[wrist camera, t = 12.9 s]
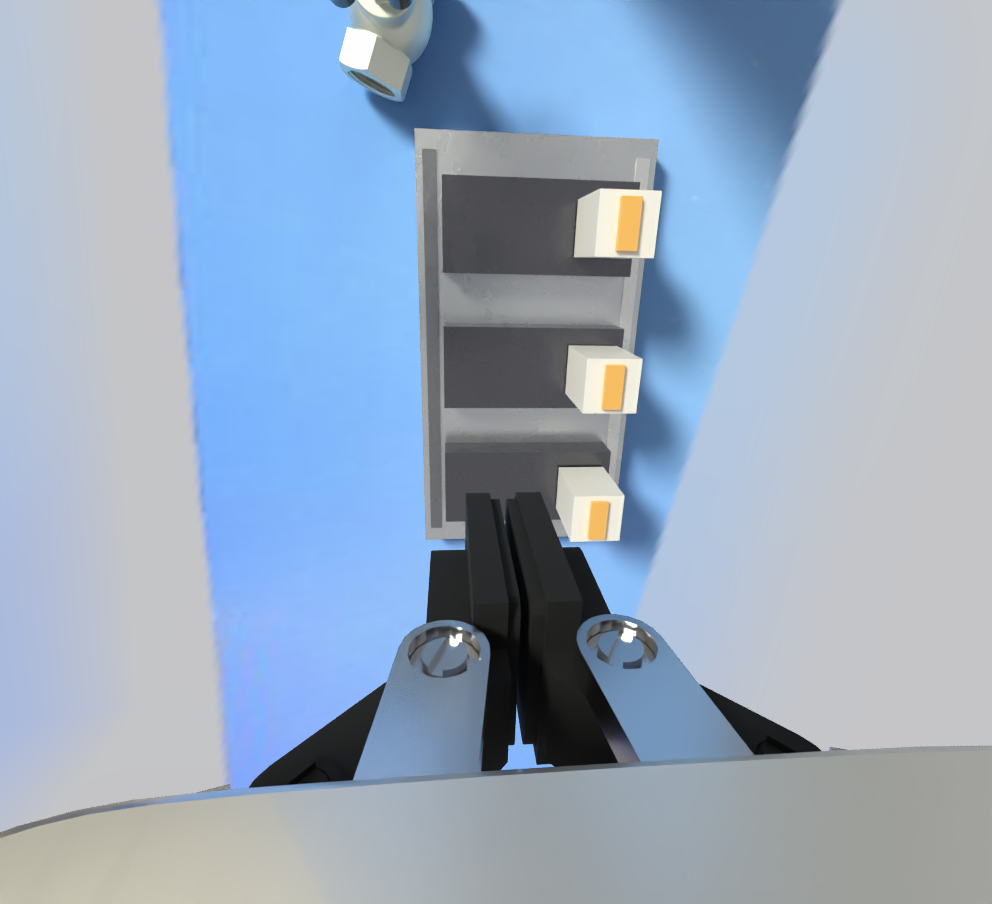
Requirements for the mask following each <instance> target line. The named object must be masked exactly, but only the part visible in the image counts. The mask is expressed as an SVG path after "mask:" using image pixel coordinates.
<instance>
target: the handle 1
mask: <svg viewBox="0 0 992 904" xmlns="http://www.w3.org/2000/svg"><path fill="white" fill-rule="evenodd" d="M661 195H662V191H654V190H628V189H602V188H600V189H598V190H596V191H594V192H592V193H590V194H588V195H586V196H584V197H582V198H580V199H578V207H577V221H576V235H575V249H574V257H578V258H616V259H638V258H654V253H655V244H656V236H657V228H658V220H659V212H660V204H661Z"/></svg>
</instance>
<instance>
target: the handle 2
mask: <svg viewBox="0 0 992 904" xmlns="http://www.w3.org/2000/svg"><path fill="white" fill-rule="evenodd" d="M624 497H625V496H624V494H623V493H622V492H621V490H620V489H619V488H618V486H617V485H616V483H615V482H614V481H613V479H612V478H611V477H610V475H609V474H608V473H607V471H606V470H605V469H604V467H559V472H558V486H557V500H556V509H557V512H558V514H559V516H560V519H561V521H562V523H563V526H564V528H565V530H566V533H567V535H568V537H569V540H570V542H586V541H619V538H620V530H621V522H622V513H623V505H624Z"/></svg>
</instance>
